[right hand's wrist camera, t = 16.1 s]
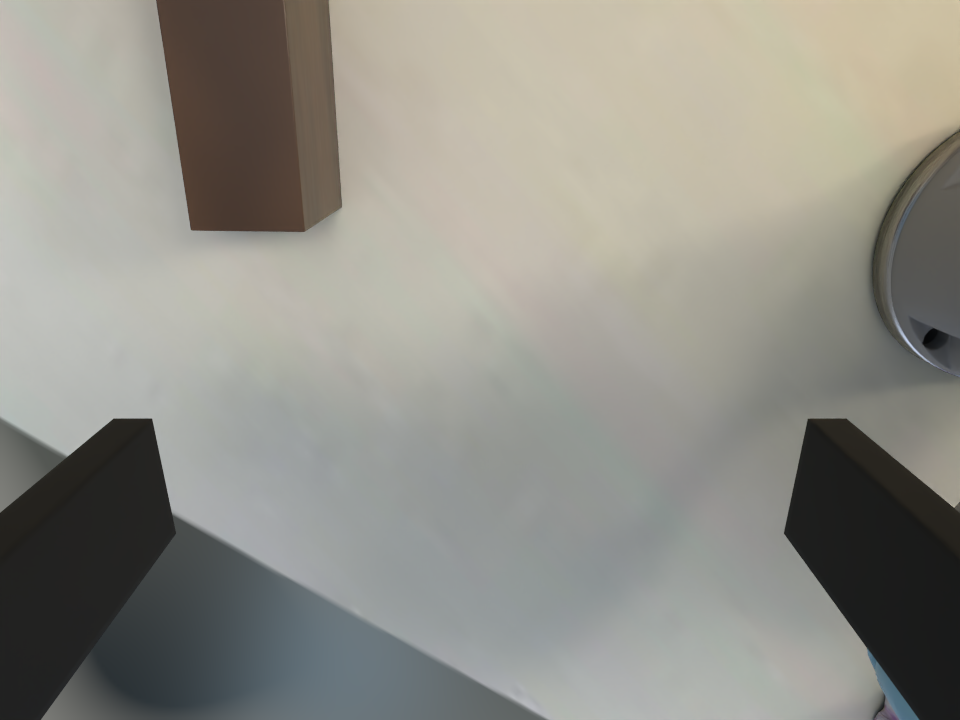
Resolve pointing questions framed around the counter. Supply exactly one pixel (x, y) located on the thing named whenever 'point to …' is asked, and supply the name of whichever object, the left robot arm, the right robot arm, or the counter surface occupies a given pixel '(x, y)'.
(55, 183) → the counter surface
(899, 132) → the counter surface
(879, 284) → the right robot arm
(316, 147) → the walnut beam
